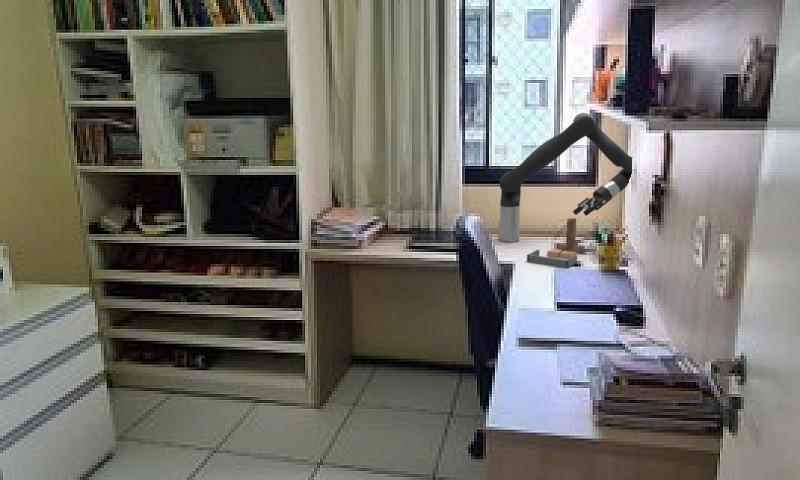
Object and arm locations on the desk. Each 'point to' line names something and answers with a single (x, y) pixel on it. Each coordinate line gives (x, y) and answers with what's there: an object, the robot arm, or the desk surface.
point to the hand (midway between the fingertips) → (579, 213)
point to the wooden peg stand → (571, 239)
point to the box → (551, 260)
